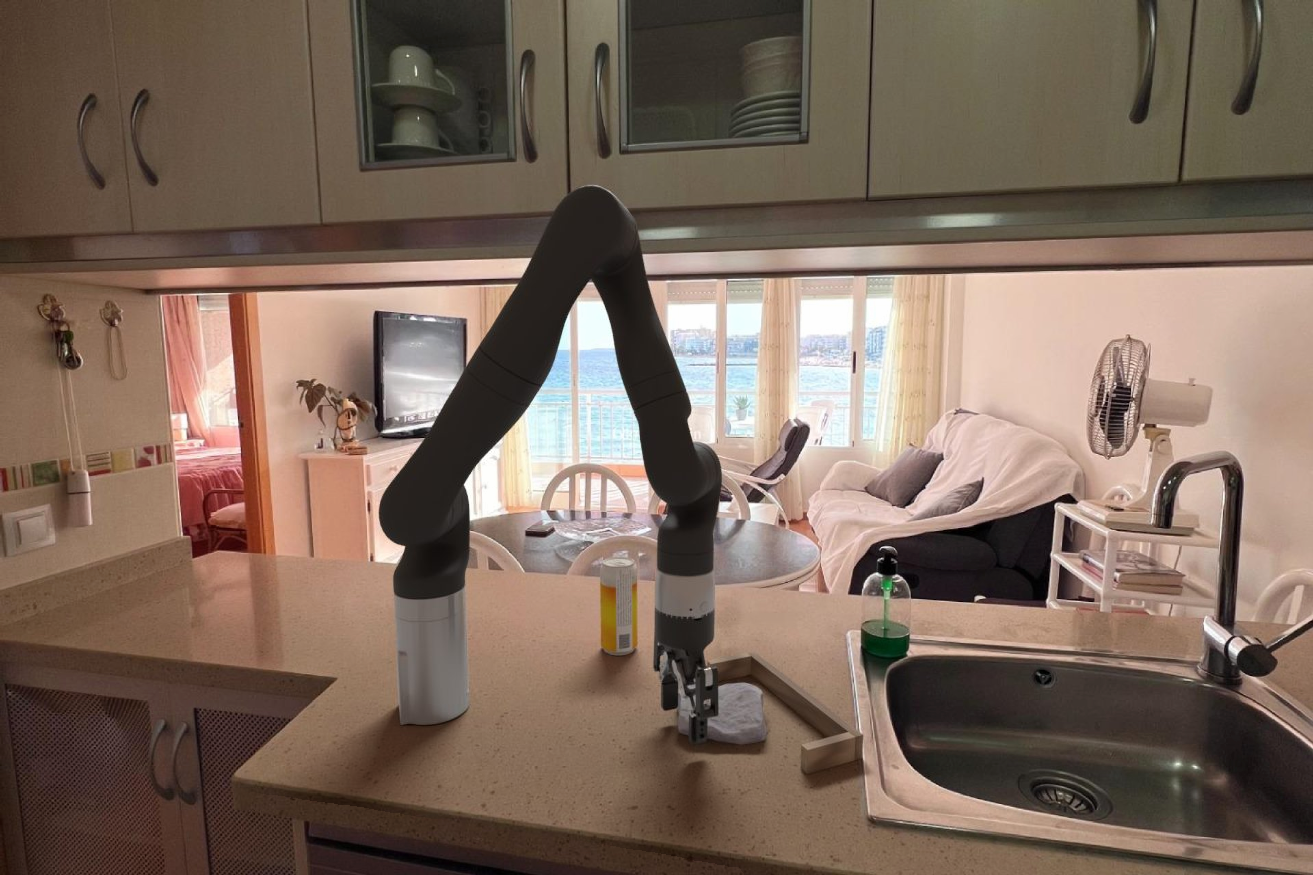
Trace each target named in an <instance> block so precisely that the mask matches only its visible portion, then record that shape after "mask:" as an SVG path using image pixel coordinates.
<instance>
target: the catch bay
mask: <svg viewBox="0 0 1313 875" xmlns="http://www.w3.org/2000/svg"><path fill="white" fill-rule="evenodd" d="M706 666H707V667H714V666H715V667H716V668H717V670H718V683H719V682H723V681H728V680H732V679H733V680H734V679H737V678H741V677H746V676H752V677H753V678H754V679H755V680H757V681H758V682H759V683H760V684H761V685H763V686H764V687H765V688H766V689H767V690H769V691H770V692H771V693H772V694H773V695H775V696H776V697H777V698H778V699H779V700H781V701H782V702H783V703H784V704H786V705H787V706H788V707H789V708H791V710H793V711H794V712H795V713H796V714H798V715H799V716H800V717H802V719H804V720H805V721H806V722H807V723H808V724H810V725H811V726H812V727H814V728H815V729H816V730H817V731H818V732H820V733H821V734H822V735H823V736H824V738H821V739H818V740H813V741H810V742H806V743H803V744H800V745H801V746H800V770H802V771H803V773H804V774H806V775H809V774H813V773H816V772H819V771H823V770H826V769H830V768H833V767H837V766H840V765H843V764H847V763H850V762H853V761H857V760H861V759H863V754H864V752H863V750H864V734H863V733H862V732H861V731H859V730H858V729H856V728H855V727H854V726H853V725H851V724H850V723H848V722H847V721H846V720H844V719H843V718H842V717H841V716H839V715H838V714H837V713H835V712H834V711H833V710H831V709H830V708H829V707H827V706H826V705H825V704H823V702H821V701H819V700H818V698H815V697H814V696H813V695H812V694H810V693H809V692H808V691H806V690H805V689H803V687H801V686H800V685H798V684H797V682H795V681H793V680H792V679H791V678H789V677H788V676H787V675H785V674H784V673H783V672H782V671H780V670H779V669H777V668H776V667H775V666H774V665H772V664H771V663H770V662H768V661H767V660H766V659H764V658H763V657H762V656H760V654H758V653H756V652H755V651H750V652H745V653H739V654H734V655H729V656H724V657H719V658H715V659H713V658H712V659H710V660H707V663H706Z"/></svg>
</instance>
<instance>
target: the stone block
mask: <svg viewBox="0 0 1313 875" xmlns="http://www.w3.org/2000/svg"><path fill="white" fill-rule="evenodd" d="M687 687H688V688H689V689H693V688H695V684H694V685H689V686H687ZM763 693H764V692H763V691H762V690H761V688H759V687H758V686H756V685H753V684H750V683H747V682H737V683H736V682H735V683H725V684H722V685H718V708H719V714H718V716H716V717H710V718H708V727H707V740H713V741H716V742H722V743H729V744H736V745H742V746H743V745H747V744H748V745H749V744H754V743H760V742H764V741H765V740H766V739H767V733H768V730H767V725H766V720H765V715H764V710H763V707H764V694H763ZM693 699H694V703H695V706H696V696H693ZM709 702H710V699H709ZM676 710H677V713H678V718H677V728H678V729H677V730H678V733H680V734H682V735H684V736H685V735H686V736H689V714H690V713H689V709H688V705H687V701H686V699H685V698H683V697H682V696H681V692H680V690H678V707H677V708H676Z"/></svg>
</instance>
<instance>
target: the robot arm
mask: <svg viewBox="0 0 1313 875" xmlns="http://www.w3.org/2000/svg"><path fill="white" fill-rule="evenodd" d="M639 234H640V233H639V228H638V225H637V221H636V219H635V217H634V216H633V215H632V213H631V212H630V211H629V209H628V208H627V207H626V206H625V205H624V203H622V202H621V201H620V200H619V198H618V197H617V196H616V195H615V194H614V193H612V192H611V191H610V190H609V189H606V188H605V187H603V186H600V185H597V184H587V185H586V184H585V185H582V186H579V187H577V188H575V189H573V190H572V191H570V192H569V193H568V194H566V195H565V196H564V197H563V198H562V200H561V201H560V202H559V203H558V204H557V205H556V207H555V209H554V211H553V213H552V215H551V217H550V219H549V221H548V223H547V224H546V227H545V228H544V230H543V233H542V235H541V237H540V239H539V241H538V244H537V246H536V248H535V250H534V252H533V254H532V256H531V259H530V260H529V263H528V265H527V266H526V268H525V270H524V272H523V275H522V276H521V277H520V280H519V281H518V283H517V285H516V286H515V288H514V290H513V291H512V293H511V294H510V296H509V297H508V299H507V301H506V302H505V303H504V305H503V307H502V309H501V310H500V312H499V314H497V317H496V319H495V320H494V321H493V323H492V325H491V326H490V329H489V330H488V331H487V333H486V334H485V336H484V337H483V338H482V340H481V341H480V343H479V345H478V346H477V348H476V350H475V351H474V352H473V355H471V358H470V359H469V360H468V362H467V364H466V366H465V367H464V370H463V371H462V373H461V375H460V376H459V378H458V381H457V382H456V384H455V386H454V387H453V389H452V390H451V392H450V394H449V395H448V397H447V399H446V400H445V402H444V404H443V406H442V408H441V409H440V411H439V412H438V415H437V416H436V418H435V419H434V422H433V424H432V426H431V427H430V429H429V431H428V432H427V434H426V436H425V437H424V439H423V440H422V441H421V443H420V444H419V446H417V448H416V450H415V451H414V453H413V454H411V456H410V458H409V459H408V460H407V461H406V462H405V463H404V465H403V467H402V468H401V469H400V470H399V471H398V473H397V474H396V475H395V477H393V478H392V481H391V482H390V483H389V484H388V486H387V487H386V489H385V490H384V492H383V493H382V495H381V499H380V501H379V505H378V506H379V507H378V521H379V525H380V527H381V530H382V532H383V533H384V535H385V536H386V538H387V539H388V540H389V541H391V542H392V543H394V544H396V545H398V546H402V547H404V550H403V552H402V556H401V558H400V561H399V563H397V566H396V567H395V569H394V571H393V575H392V583H393V584H392V586H393V587H392V588H393V598H394V599H393V601H394V603H393V604H394V622H395V623H394V624H395V626H394V627H395V654H396V655H395V656H396V660H395V661H396V677H397V679H396V680H397V696H398V697H397V698H398V701H397V702H398V710H399V711H398V712H399V724H400V725H402V726H403V725H407V724H410V725H411V724H413V725H417V726H418V725H419V726H427V725H428V726H429V725H436V724H441V723H445V722H448V721H451V720H453V719H455V718H457V717H459V716H461V715H462V714H463V713H464V712H466V711H467V709H468V708H469V706H470V685H469V684H470V683H469V682H470V680H469V679H470V678H469V676H470V675H469V656H468V654H469V651H468V625H467V623H468V622H467V595H466V594H467V592H466V571H467V569H468V568H467V567H468V564H469V560H470V551H471V549H470V548H471V546H470V544H471V542H470V541H471V540H470V539H471V537H470V536H471V534H470V532H471V527H470V526H471V522H470V521H471V520H470V519H471V517H470V516H471V512H470V510H471V509H470V500H469V495H468V494H469V493H468V491H467V488H466V486H465V484H466V482H467V481H468V479H469V477H470V476H471V474H472V473H473V471H474V470H475V468H476V467H477V465H478V464H479V463H480V462H481V461H482V459H483V458H484V457H485V456H486V455H487V454H488V453H489V452H490V451H491V450H492V449H493V448H494V447H495V446H496V445H497V444H498V443H499V442H500V441H501V440H502V439H503V438H504V437H505V436H506V434H507V433H509V431H510V430H511V429H512V428H513V427H514V426H515V424H517V422H518V421H520V419H521V418H522V417H523V415H524V414H525V413H526V411H527V410H528V408H529V407H530V405H531V403H532V402H533V400H534V399H535V397H536V396H537V394H538V393H539V391H540V390H541V388H542V387H543V385H544V383H545V381H546V380H547V378H548V376H549V375H550V372H551V371H552V368H553V366H554V363H555V360H556V357H557V353H558V351H559V350H558V349H559V346H560V343H561V340H562V339H561V338H562V335H563V331H564V328H565V326H566V325H565V324H566V321H567V318H568V316H569V315H570V313H571V310H572V308H573V306H574V304H575V303H576V301H577V299H578V298H579V296H580V295H581V294H582V292H583V290H584V289H585V287H586V286H587V284H589V282H590V280H591V281H592V283H593V285H594V286H595V288H596V291H597V292H598V294H599V296H600V299H601V302H602V303H603V306H604V308H605V312H606V314H607V318H608V321H609V324H610V329H611V333H612V339H613V346H614V352H615V359H616V364H617V367H618V371H619V375H620V377H621V380H622V384H623V387H624V390H625V392H626V395H627V398H628V400H629V403H630V404H629V405H630V406H631V409H632V411H633V415H634V416H635V418H636V421H637V425H638V432H639V443H640V448H641V454H642V455H641V456H642V460H643V466H644V470H645V474H646V475H645V476H646V477H647V481H648V482H649V485H650V487H651V488H652V490H653V492H654V493H655V494H656V495H657V497H658V498H659V499H660V500H661V501H663V502H664V503H665V504H668V506H667V513H666V515H665V519H664V520H662V521H663V522H662V523H661V524H660V526H659V527H658V532H657V538H656V540H657V541H656V544H657V545H656V576H655V582H654V626H653V627H654V629H653V630H654V631H653V632H654V633H653V637H654V638H653V662H652V663H653V664H652V668H653V671H654V672H655V673H656V672H658V676H657V677H658V681H659V682H660V708H661V709H662V710H663V711H665V712H667V711H672V710H675V709H676V710H677V707H678V692H679V691H680V692H681V696H682V697H683V698H685V699H686V701H687V705H688V709H689V713H690V714H689V735H688V741H689V743H690V744H691V745H692V746H697V745H702V744H705V743H706V742H707V741H708V738H707V727H708V718H710V717H716V716H718V714H719V708H718V687H719V682H718V670H717V668H716V667H715V666H714V667H707V663H706V660H705V653H704V651H705V649H706V648H707V647H708V646H709V645H710V644H712V643H713V641H714V638H715V625H716V624H715V622H716V621H715V620H716V619H715V615H716V614H715V612H716V606H715V605H716V583H715V573H714V572H715V571H714V558H715V557H714V555H715V554H714V553H715V552H714V551H715V549H714V548H715V543H714V542H715V539H714V533H715V532H714V531H715V525H716V521H717V517H718V511H719V506H720V501H721V500H720V499H721V492H722V485H723V484H722V483H723V482H722V481H723V471H722V465H721V461H720V459H719V457H718V454H717V453H716V451H715V450H714V449H713V448H712V447H711V446H710V445H708V444H706V443H704V442H701V441H693V437H692V434H691V430H690V426H689V418H690V416H691V415H692V409H693V407H692V403H691V399H690V396H689V394H688V392H687V388H686V385H685V383H684V379H683V377H682V374H681V372H680V370H679V366H678V363H677V361H676V359H675V356H674V353H673V350H672V349H671V344H670V343H669V341H668V338H667V336H666V335H667V334H666V333H665V330H664V328H663V325H662V323H661V320H660V317H659V314H658V311H657V309H656V305H655V302H654V299H653V295H652V291H651V288H650V285H649V280H648V276H647V271H646V268H645V267H646V266H645V261H644V256H643V251H642V245H641V240H640V239H641V238H640V235H639ZM661 657H662V660H661ZM694 684H695V688H693V689H689V688H688V687H687V686H689V685H694ZM693 696H696V706H695V703H694V699H693ZM709 699H710V702H709Z"/></svg>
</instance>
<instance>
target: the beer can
mask: <svg viewBox="0 0 1313 875" xmlns="http://www.w3.org/2000/svg"><path fill="white" fill-rule="evenodd" d="M599 577H600V579H599V580H600V581H599V584H600V585H599V587H600V590H599V592H600V594H599V595H600V597H599V599H600V602H599V603H600V606H599V607H600V646H601V649H603V650H604V652H605V653H606V654H608V655H612V656H626V655H629V654H632V653H633V652H634V650H635V649H636V648H637V647H638V567H637V564H636V562H635V560H634V559H633V558H631V557H625V556H614V557H608V558H605V559H604V560H602V564H601V565H600V568H599Z"/></svg>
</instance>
